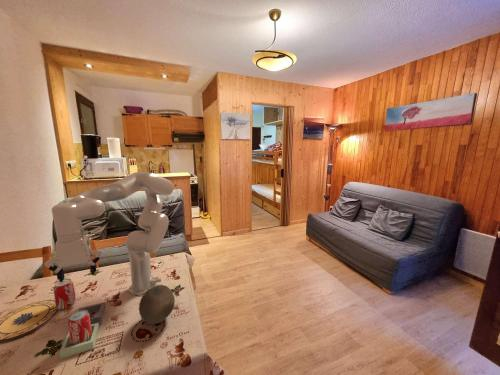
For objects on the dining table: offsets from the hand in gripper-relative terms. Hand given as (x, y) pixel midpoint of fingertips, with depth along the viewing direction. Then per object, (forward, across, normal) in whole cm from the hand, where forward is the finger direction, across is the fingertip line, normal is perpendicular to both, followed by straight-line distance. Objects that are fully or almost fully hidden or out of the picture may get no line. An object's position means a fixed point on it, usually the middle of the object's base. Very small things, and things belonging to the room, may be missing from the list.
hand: (78, 276), depth 82 cm
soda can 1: (+24, +12, -20) cm, 34 cm away
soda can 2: (+24, 0, +7) cm, 25 cm away
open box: (+24, 0, +1) cm, 24 cm away
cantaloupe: (+24, -26, +8) cm, 37 cm away
